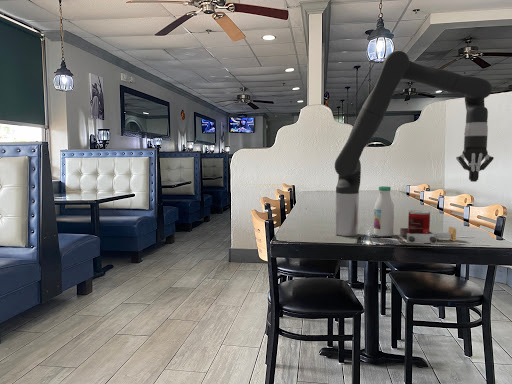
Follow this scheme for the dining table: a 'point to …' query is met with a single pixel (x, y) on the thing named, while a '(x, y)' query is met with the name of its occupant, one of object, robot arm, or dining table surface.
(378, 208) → the milk bottle
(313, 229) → the dining table surface
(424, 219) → the canned food
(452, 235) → the trolley
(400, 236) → the track
